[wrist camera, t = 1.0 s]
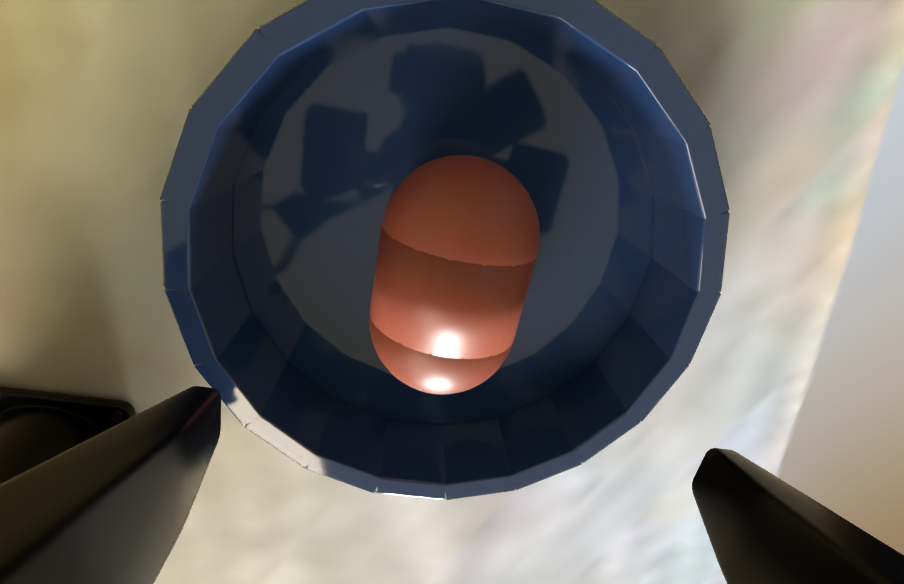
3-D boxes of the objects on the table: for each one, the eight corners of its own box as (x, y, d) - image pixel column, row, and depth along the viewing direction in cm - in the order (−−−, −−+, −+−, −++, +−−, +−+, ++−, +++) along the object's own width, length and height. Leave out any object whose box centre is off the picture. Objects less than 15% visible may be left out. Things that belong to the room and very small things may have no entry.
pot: (214, 405, 21) (170, 473, 17) (216, -69, 14) (145, -121, 11) (590, 449, 23) (622, 518, 19) (739, 55, 17) (831, 47, 13)
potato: (368, 337, 19) (351, 416, 15) (397, 132, 16) (387, 151, 12) (488, 354, 20) (508, 435, 15) (538, 160, 17) (581, 187, 12)
